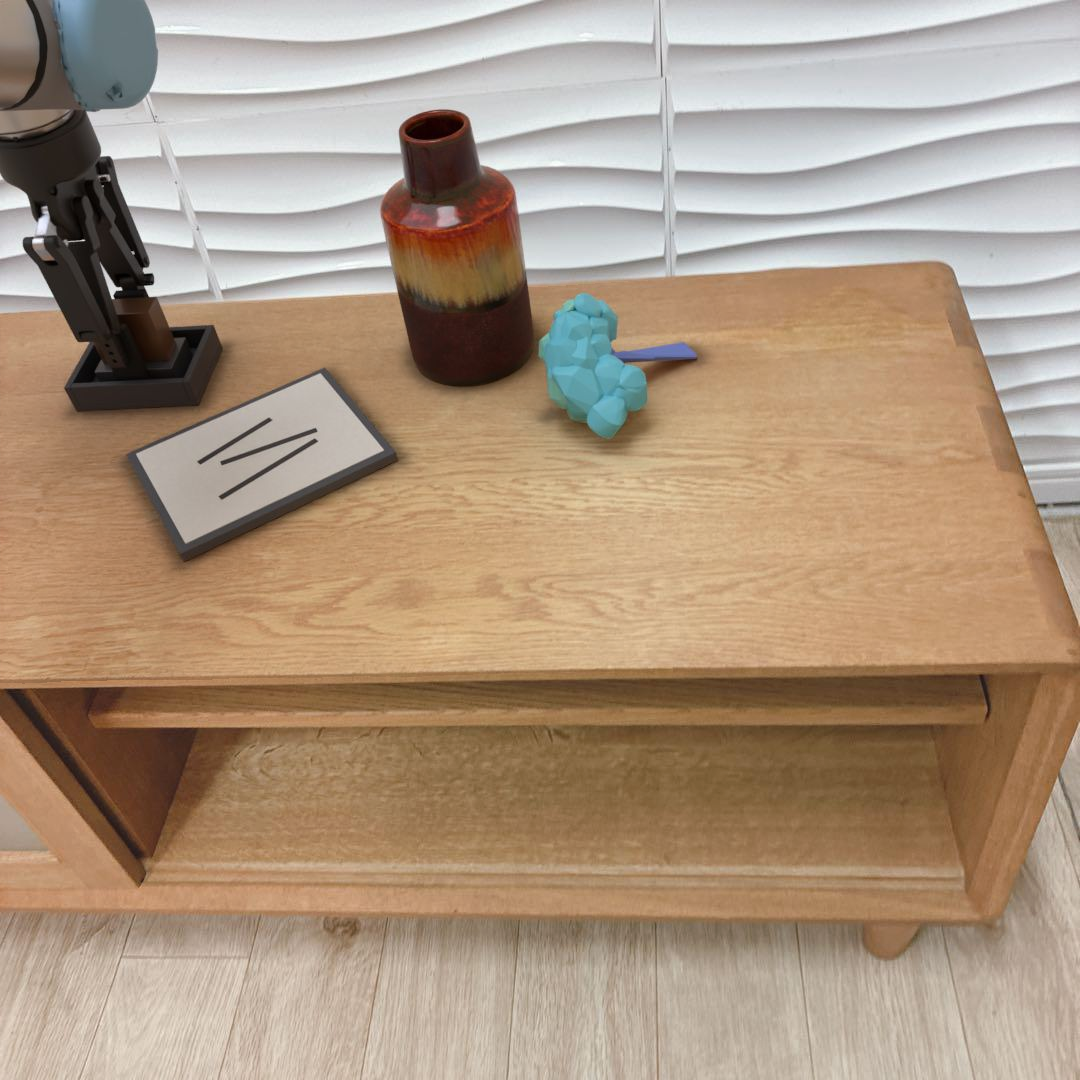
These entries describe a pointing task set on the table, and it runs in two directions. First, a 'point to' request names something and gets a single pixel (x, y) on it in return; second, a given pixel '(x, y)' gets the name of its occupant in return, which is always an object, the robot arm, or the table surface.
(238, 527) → the whiteboard
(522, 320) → the vase
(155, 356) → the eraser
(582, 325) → the light blue toy tree
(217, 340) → the tray
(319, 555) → the table surface
